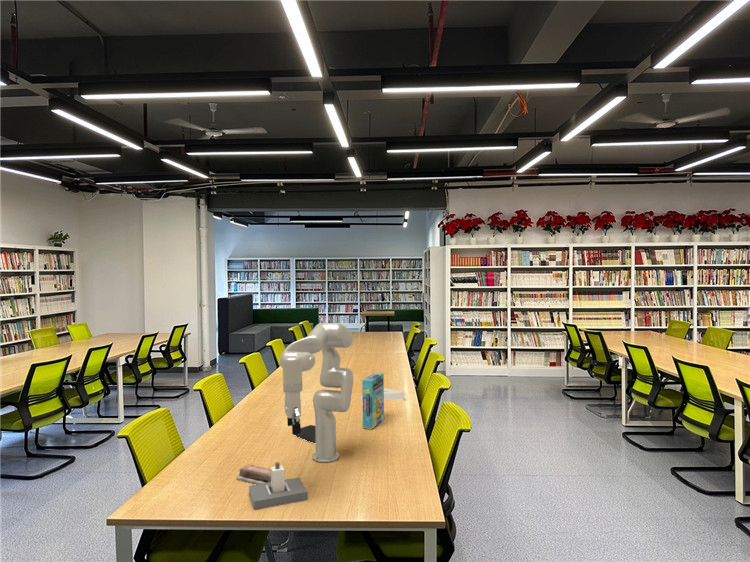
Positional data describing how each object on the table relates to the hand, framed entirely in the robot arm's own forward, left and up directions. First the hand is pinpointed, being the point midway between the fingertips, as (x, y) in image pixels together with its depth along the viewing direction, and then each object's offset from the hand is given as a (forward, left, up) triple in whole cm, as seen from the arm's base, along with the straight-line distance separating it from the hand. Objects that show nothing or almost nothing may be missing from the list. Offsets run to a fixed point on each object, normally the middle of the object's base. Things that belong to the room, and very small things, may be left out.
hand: (294, 429), depth 190 cm
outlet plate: (+4, -7, -24) cm, 25 cm away
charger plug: (+3, -7, -24) cm, 25 cm away
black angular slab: (-56, +22, -25) cm, 65 cm away
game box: (-63, +60, -24) cm, 90 cm away
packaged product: (-15, -11, -25) cm, 31 cm away
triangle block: (-108, +78, -25) cm, 136 cm away
